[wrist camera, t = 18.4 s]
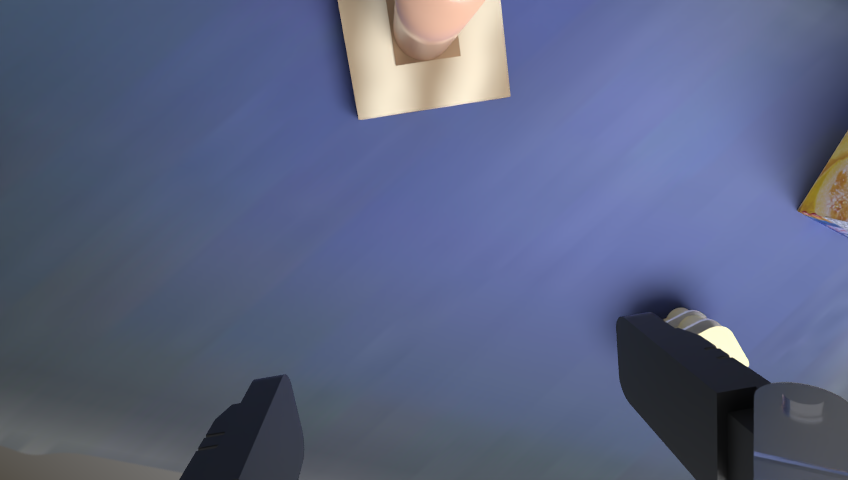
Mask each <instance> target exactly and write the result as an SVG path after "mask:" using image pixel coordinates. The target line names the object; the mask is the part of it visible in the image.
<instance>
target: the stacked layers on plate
mask: <svg viewBox="0 0 848 480" xmlns="http://www.w3.org/2000/svg"><path fill="white" fill-rule="evenodd" d="M663 320H664V321H665V322H667V323H668V324H670V325H671V326H672V327H674V328H681V329H683V330H686V331H689V332H692V333H695V334H698V335H700V336H702V337H703V338H705V339H706V340H708V341H709V342H711V343H712V344H714V345H715V346H716V348H720V349H721V350H723V351H724V352H726V353H727V354H729V356H730V358H731V357H733V358H735V359H736V360H738V361H739V362H741V363H742V364H744V365H745V366H747V367H748V366H749V362H748V359H747V358H746V356H745V354H744V352H743V351H742V349H741V347H740V345H739V344H738V342H737V340H736V339H735V337H734V335H733V333H732V332H731V331H730V330H729V329H728V328H726V327H722V326H721V325H720V324H719V323H718V322H716V321H714V320H711V319H707V317H706V316H705V315H704V314H703V313H701V312H699V311H696V310H688V309H686V308H676V309H674V310H672V311H671V312H670V313H669V314H668V316H667V318H666V319H663Z"/></svg>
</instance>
